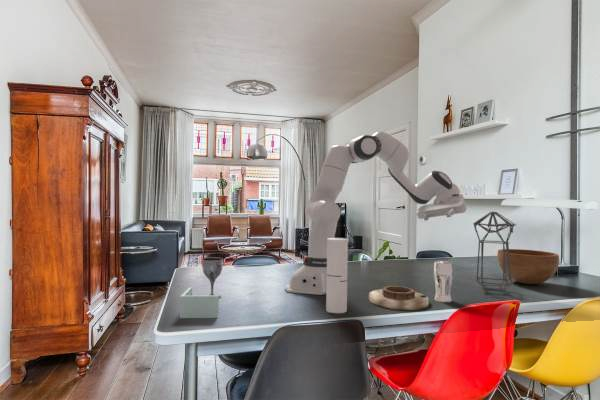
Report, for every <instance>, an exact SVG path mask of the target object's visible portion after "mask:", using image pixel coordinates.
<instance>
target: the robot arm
mask: <svg viewBox="0 0 600 400" xmlns="http://www.w3.org/2000/svg"><path fill="white" fill-rule="evenodd" d="M409 153H410V151H409V149H408V147H407V146H406V145H405V144H404V143H403V142H402V141H399V140H398V138H396V137H394V136H392V135H391V134H389V133H387V132H385V131H382V130H381V131H380V130H379V131H376V132H374V133H373V134H372V135H370V134H369V135H368V134H364V135H362V134H361V135H360V136H358V137H354V138H353V139H351V140H350V141H348V142H346V143H345V144H344V145H342V144H336V145H332V146H331V148H330V149H329V150H328V153H326V154H327V155H326V157H325V158H324V162H323V164H322V168H321V171H320V175H319V177H318V179H317V182H316V185H315V187H314V190H313V192H312V193H311V196H310V198H309V200H308V202H307V204H306V207H305V208H304V214H305V216H306V218H307V219H308V221H309V222H311V228H310V233H309V236H308V244H307V245H308V250H307V251H308V253H307V254H308V255H304V256H303V257H302V260H303V265H301V266H300V267H299V268H297V270H295V271H294V272H292V274H291V277H290V280H289V283H286V284H285V287H284V291H285V292H287V293H294V294H295V293H296V294H307V295H319V296H321V295H326V290H327V238H336V237H335V236H336V232H337V226H338V221H339V219H340V217H341V209H340V207H339V205H338V203H336V200H337V198H338V196H339V194H340V193H341V192H342V190H343V187H344V184H345V180H346V178H347V174H348V171H349V167H350V165H351V164H358V163H365V162H367V161H369V160H371V159H373V158H374V157H377V158H379V159H380V160H382V161H383V162H384V163H385V164H386V165H387V167H388V168H387V171H388V174H389V175H390V176H391V177H392V178H393V180H395V182H396V183H398V184H399V186H400V187H401V188H402V189H403V190H404V191H405V192H406V193H407V194H408V195H409V197H410V198H411V199H412V201H413V202H415V203H416V204H419V205H422V206H420V207H419V208H418V209H417V210H416V216H417V218H418V219H419V220H422V219H423V221H425V222H426V221H429V219H430V218H436V217H442V216H446V218H451V217H452V216H454V215H457V214H464V213H465V212H466V211H467V205H466V200H465V198H464V195H463V194H462V193H460V192H461V191H460V188H459V187H458V186H457V184H455V183H453V182H452V180H451V178H450V177H449V176H448V175H447V174H446V173H444V172H443V171H439V170H433V171H431V172H430V173H428V174H427V175H426V176H425V177H424V178H422V179H421V180H420V181H418V183H413V181H412V180H411V179H410V178H409V177H408V176H407V175H406V174H405V172H404V170H405V168H406V166H407V164H408V161H409V157H410V155H409ZM434 197H435V198H434ZM433 198H434V200H433V201H432V203H429V202H431V200H432V199H433ZM428 203H429V204H428Z"/></svg>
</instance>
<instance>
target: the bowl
mask: <svg viewBox="0 0 600 400" xmlns="http://www.w3.org/2000/svg"><path fill="white" fill-rule="evenodd" d="M496 256H497V262H498V265H499V267H500V269H501V270H502V271H503V248H502V249H501V248H500V249H498V250H497V255H496ZM509 257H510V270H511V280H513V282H514V281H515V282H516V283H520V284H523V285H538V284H542V283H544V282H547V281H548V280H549V279H551V278H552V277H553V276H554V275H555V274H556V273H557V270H558V268H559V266H560V265H559V264H560V255H559V254H557V253H556V252H552V251H551V252H550V251H543V250H542V251H541V250H533V249H519V248H509ZM505 259H506V274H507V277H508V265H507V253H506V248H505ZM504 269H505V266H504Z"/></svg>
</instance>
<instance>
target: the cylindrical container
mask: <svg viewBox="0 0 600 400" xmlns="http://www.w3.org/2000/svg"><path fill="white" fill-rule="evenodd" d="M348 240H349V239H348V238H345V237H334V238H327V290H326V294H325V295H326V299H325V301H326V302H325V303H326V304H325V311H326V312H327V313H331V314H332V313H333V314H344V313H346V312H347V311H348V258H349V257H348V250H349V249H348V245H349V244H348V243H349V242H348Z"/></svg>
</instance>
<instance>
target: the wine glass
mask: <svg viewBox="0 0 600 400" xmlns="http://www.w3.org/2000/svg"><path fill="white" fill-rule="evenodd" d="M201 266H202V272H203V274H204V276H205V277H206V279H207V280H208V281H209V283H210V294H209V295H215V294H214V287H215V282H216V280H217V279H218V277H219V276H220V275H221V274H222V271H223V266H224V258H223V257H220V256H219V257H217V256H215V257H213V256H212V257H210V256H209V257H204V258H202V259H201ZM218 295H219V294H218ZM221 298H222V295H219V299H221Z"/></svg>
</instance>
